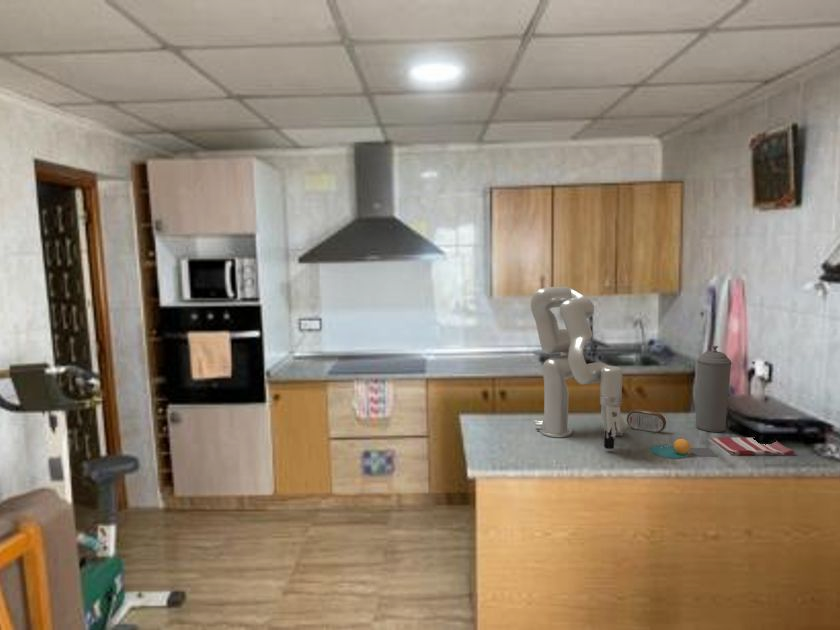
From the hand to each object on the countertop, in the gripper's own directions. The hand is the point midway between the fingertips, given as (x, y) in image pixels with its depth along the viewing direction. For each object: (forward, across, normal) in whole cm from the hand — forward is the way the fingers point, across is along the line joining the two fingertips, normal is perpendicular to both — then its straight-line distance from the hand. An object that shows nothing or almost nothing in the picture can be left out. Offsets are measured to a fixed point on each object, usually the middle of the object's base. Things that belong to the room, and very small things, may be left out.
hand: (609, 447), depth 207 cm
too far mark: (+2, 0, -34) cm, 34 cm away
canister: (+2, +27, -50) cm, 56 cm away
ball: (-1, -2, -26) cm, 26 cm away
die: (+2, +19, -8) cm, 21 cm away
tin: (+2, +24, -22) cm, 32 cm away
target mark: (+2, 0, -22) cm, 22 cm away
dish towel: (+2, +5, -54) cm, 54 cm away
